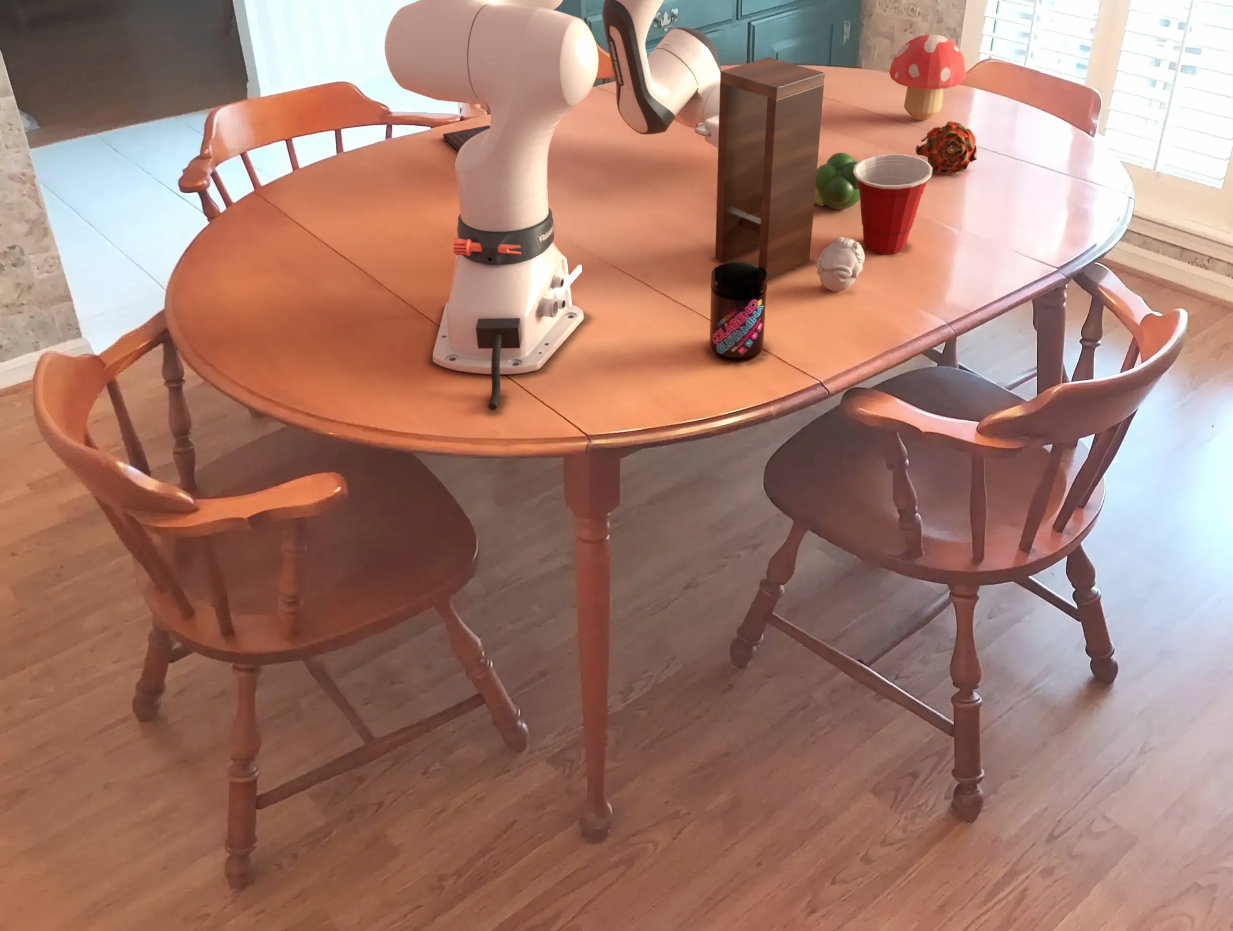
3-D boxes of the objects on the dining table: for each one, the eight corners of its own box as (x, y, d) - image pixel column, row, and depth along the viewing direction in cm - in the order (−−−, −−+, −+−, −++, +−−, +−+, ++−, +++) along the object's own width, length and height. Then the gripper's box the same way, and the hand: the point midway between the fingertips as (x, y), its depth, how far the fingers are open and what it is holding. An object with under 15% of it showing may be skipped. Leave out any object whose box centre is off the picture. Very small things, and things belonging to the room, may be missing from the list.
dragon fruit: (957, 194, 178) (924, 178, 189) (999, 158, 177) (964, 144, 187) (931, 154, 174) (899, 140, 185) (974, 117, 173) (939, 105, 183)
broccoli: (878, 207, 171) (884, 154, 166) (841, 223, 166) (846, 169, 161) (795, 177, 182) (799, 127, 177) (759, 191, 177) (761, 140, 172)
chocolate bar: (488, 125, 204) (526, 154, 191) (489, 130, 204) (527, 160, 191) (443, 134, 201) (478, 164, 188) (443, 139, 201) (479, 169, 188)
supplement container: (698, 354, 136) (699, 277, 129) (727, 332, 140) (729, 257, 134) (745, 369, 132) (749, 292, 126) (773, 346, 137) (778, 270, 130)
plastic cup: (829, 246, 160) (837, 166, 153) (877, 225, 165) (886, 147, 158) (889, 270, 153) (899, 187, 146) (936, 247, 158) (949, 167, 151)
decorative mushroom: (944, 136, 196) (958, 49, 187) (873, 125, 201) (883, 40, 193) (967, 114, 205) (981, 31, 196) (898, 104, 210) (908, 22, 202)
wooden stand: (809, 262, 156) (825, 72, 140) (765, 281, 151) (776, 88, 135) (758, 241, 162) (768, 57, 146) (714, 259, 157) (720, 71, 142)
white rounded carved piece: (871, 287, 149) (877, 239, 145) (840, 304, 145) (845, 256, 141) (834, 273, 152) (839, 226, 148) (803, 290, 149) (807, 242, 144)
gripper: (688, 109, 174) (751, 130, 165) (777, 81, 184) (841, 99, 175) (688, 148, 177) (749, 170, 169) (775, 118, 188) (837, 138, 179)
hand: (796, 134), depth 172 cm, fingers open, 8 cm apart
